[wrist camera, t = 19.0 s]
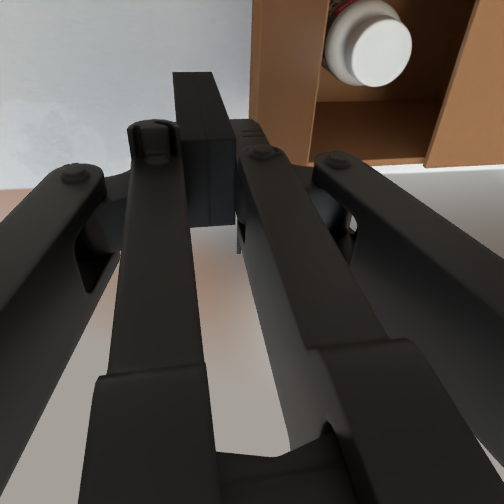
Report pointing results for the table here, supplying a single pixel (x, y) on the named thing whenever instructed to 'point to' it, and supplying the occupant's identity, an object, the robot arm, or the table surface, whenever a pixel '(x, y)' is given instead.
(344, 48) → the pill bottle
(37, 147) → the table surface
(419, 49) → the package
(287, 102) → the package flap
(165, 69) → the table surface
